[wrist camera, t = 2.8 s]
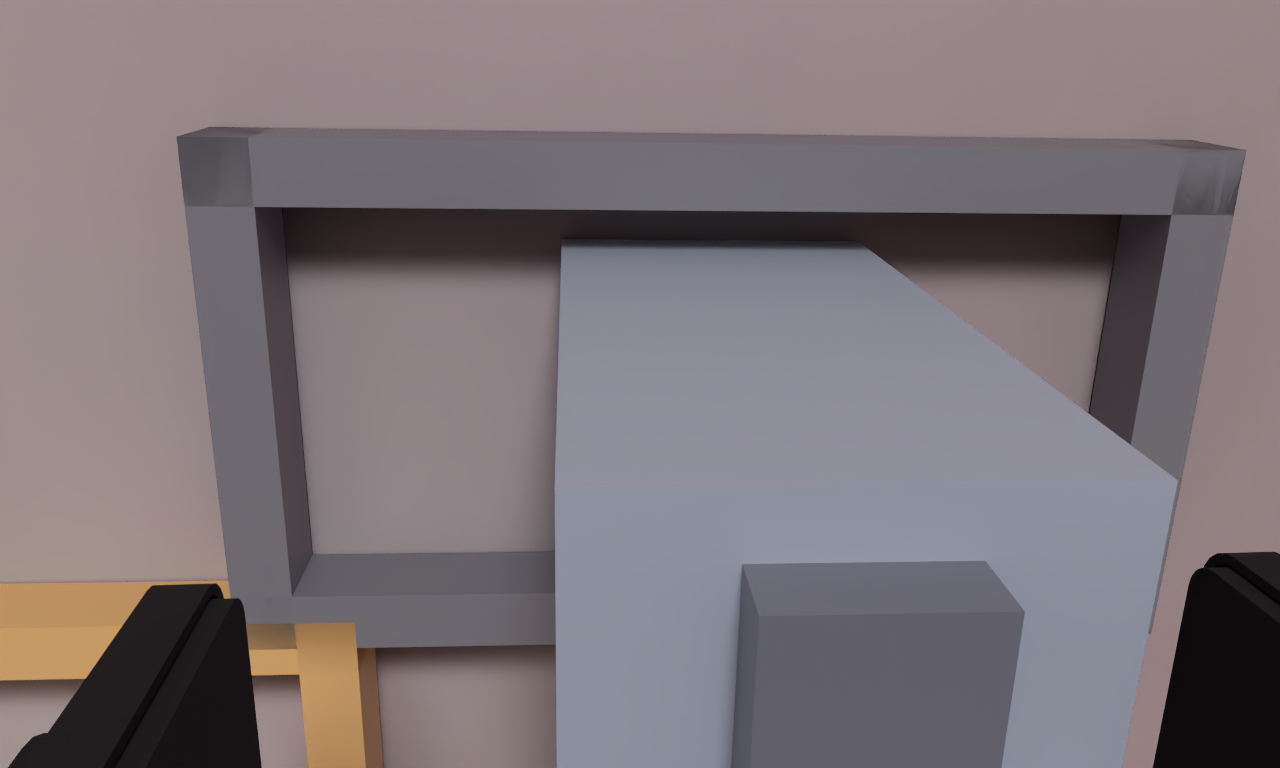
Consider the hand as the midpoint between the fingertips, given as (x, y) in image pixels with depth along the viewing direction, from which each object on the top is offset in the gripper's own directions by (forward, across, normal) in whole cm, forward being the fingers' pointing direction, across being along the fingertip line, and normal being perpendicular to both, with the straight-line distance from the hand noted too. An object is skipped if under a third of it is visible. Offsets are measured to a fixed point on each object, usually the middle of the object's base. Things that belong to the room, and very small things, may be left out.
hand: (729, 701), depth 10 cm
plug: (+9, -1, 0) cm, 9 cm away
